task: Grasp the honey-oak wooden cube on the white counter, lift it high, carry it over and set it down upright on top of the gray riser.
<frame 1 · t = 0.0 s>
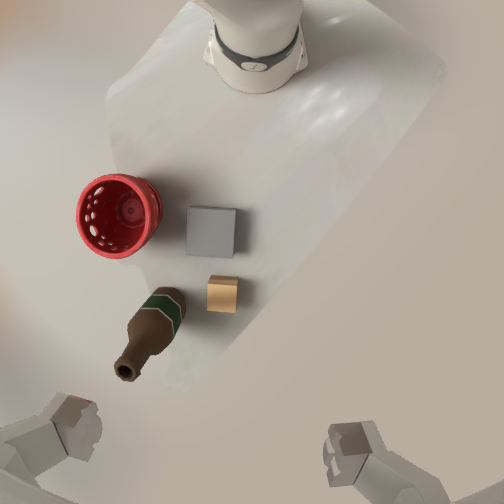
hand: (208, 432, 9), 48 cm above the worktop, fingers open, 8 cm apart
oak cube: (224, 288, 59), on the worktop
plant pot: (137, 209, 55), on the worktop
gray riser: (212, 229, 56), on the worktop
beer bottle: (168, 303, 60), on the worktop
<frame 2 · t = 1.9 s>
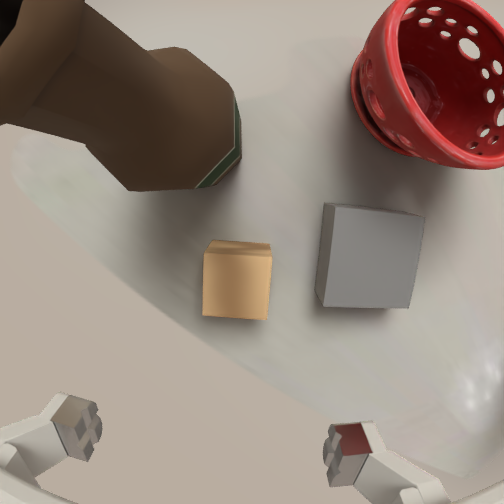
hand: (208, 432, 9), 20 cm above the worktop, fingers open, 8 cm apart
oak cube: (239, 268, 28), on the worktop
plant pot: (400, 102, 25), on the worktop
gray riser: (361, 250, 28), on the worktop
beer bottle: (201, 144, 26), on the worktop
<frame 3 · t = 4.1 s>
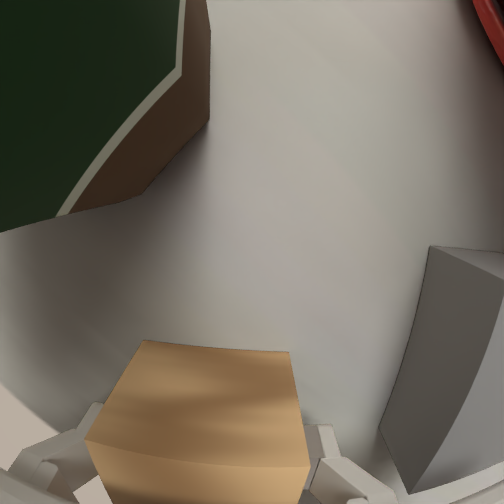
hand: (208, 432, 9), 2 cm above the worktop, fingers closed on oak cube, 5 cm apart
oak cube: (213, 402, 11), on the worktop, touching gripper
gray riser: (479, 343, 10), on the worktop
beer bottle: (107, 92, 8), on the worktop
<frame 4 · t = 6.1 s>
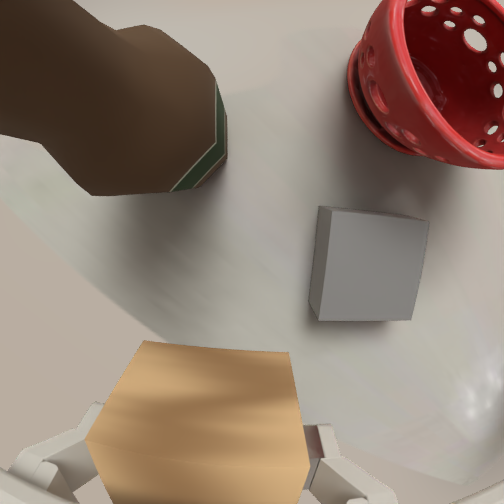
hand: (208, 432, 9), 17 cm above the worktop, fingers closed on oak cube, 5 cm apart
oak cube: (213, 403, 11), point 15 cm above the worktop, touching gripper
plant pot: (400, 97, 23), on the worktop
gray riser: (359, 257, 26), on the worktop
beer bottle: (183, 142, 23), on the worktop
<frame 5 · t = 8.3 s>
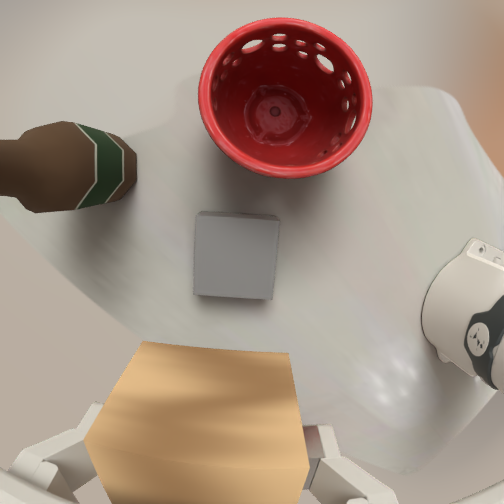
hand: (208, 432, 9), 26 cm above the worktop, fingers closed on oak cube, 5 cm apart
oak cube: (213, 403, 11), point 25 cm above the worktop, touching gripper
plant pot: (273, 119, 32), on the worktop
gray riser: (236, 249, 35), on the worktop
beer bottle: (110, 169, 32), on the worktop
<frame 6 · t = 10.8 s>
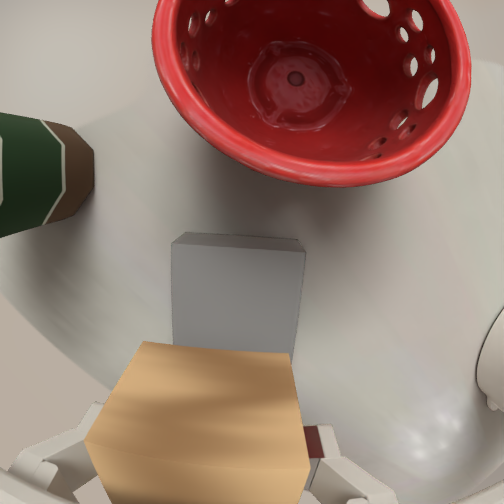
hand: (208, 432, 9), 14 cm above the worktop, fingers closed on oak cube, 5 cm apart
oak cube: (213, 403, 11), point 13 cm above the worktop, touching gripper
plant pot: (293, 93, 20), on the worktop
gray riser: (238, 289, 23), on the worktop
beer bottle: (61, 173, 22), on the worktop
when the fingers open (7 cm above the worktop, at t = 12.7 s): oak cube drops 1 cm, resting on gray riser.
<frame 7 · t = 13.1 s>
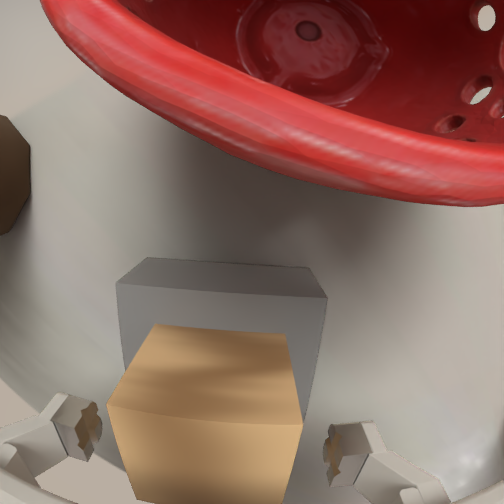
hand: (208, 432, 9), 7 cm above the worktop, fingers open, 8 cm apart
oak cube: (217, 381, 12), point 4 cm above the worktop, touching gray riser
plant pot: (302, 56, 13), on the worktop
gray riser: (223, 336, 16), on the worktop
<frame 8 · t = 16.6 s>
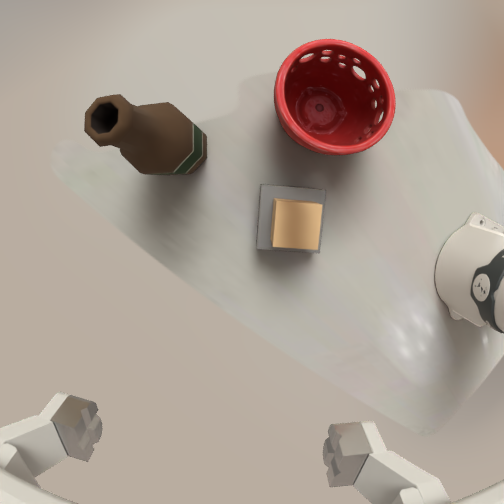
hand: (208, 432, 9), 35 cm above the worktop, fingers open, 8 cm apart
oak cube: (292, 219, 39), point 4 cm above the worktop, touching gray riser
plant pot: (316, 114, 40), on the worktop
gray riser: (288, 215, 43), on the worktop
beer bottle: (182, 148, 41), on the worktop
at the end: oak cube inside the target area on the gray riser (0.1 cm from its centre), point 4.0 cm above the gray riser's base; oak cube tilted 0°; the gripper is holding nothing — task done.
